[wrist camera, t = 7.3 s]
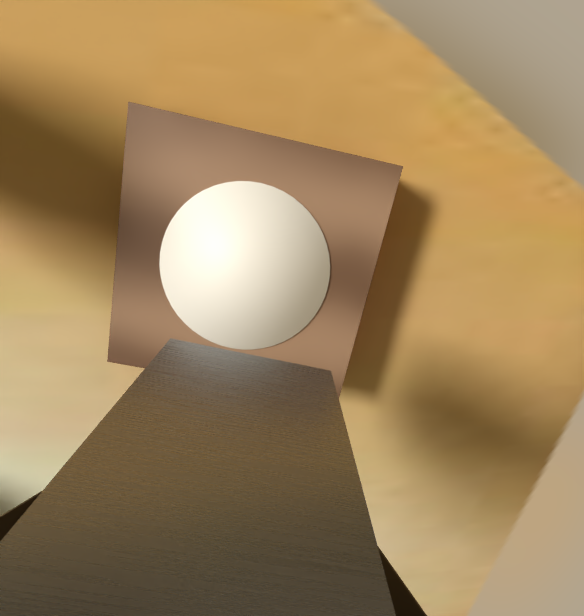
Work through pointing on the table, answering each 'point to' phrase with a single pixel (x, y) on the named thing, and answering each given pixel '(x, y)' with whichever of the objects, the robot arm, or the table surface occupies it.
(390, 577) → the robot arm
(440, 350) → the table surface
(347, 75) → the table surface
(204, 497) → the metal column
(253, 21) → the table surface
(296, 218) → the walnut step
